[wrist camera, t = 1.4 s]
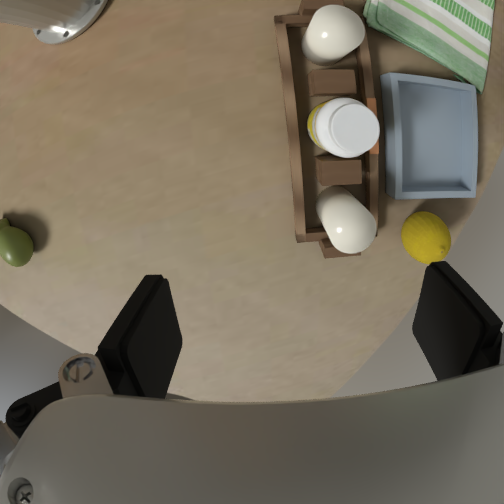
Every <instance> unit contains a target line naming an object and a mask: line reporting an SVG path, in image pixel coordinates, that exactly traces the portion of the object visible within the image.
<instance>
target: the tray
mask: <svg viewBox="0 0 504 504" xmlns="http://www.w3.org/2000/svg"><path fill="white" fill-rule="evenodd" d="M380 81H381V91H382V102H383V116H384V133H385V166H386V190H385V193H387V194H388V195H390V196H391V197H392V198H394V199H395V200H397V199H424V198H472V197H475V195H476V183H477V165H478V117H477V99H476V87H475V85H471V84H466V83H461V82H456V81H451V80H445V79H439V78H433V77H426V76H418V75H410V74H401V73H387V74H383V75H380Z"/></svg>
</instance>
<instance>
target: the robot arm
mask: <svg viewBox="0 0 504 504" xmlns="http://www.w3.org/2000/svg"><path fill="white" fill-rule="evenodd" d="M107 1H108V0H0V22H1V23H7V24H13V25H18V26H24V27H29V28H33V32H34V34H35V36H36V38H38V39H39V40H40V41H42V42H44V43H47V44H61V43H65V42H67V41H70V40H72V39H74V38H75V37H77V36H79V35H80V34H81V33H82V32H84V31H85V30H86V29H87V28H88V27H89V26H90V25H91V24H92V23H93V22H94V21H95V20H96V19H97V17H98V16H99V15H100V13H101V12H102V10H103V9H104V7H105V5H106V3H107ZM502 325H503V322H502V321H501V320H500V319H499V318H498V316H497V315H496V314H495V313H494V312H493V311H492V309H491V308H490V307H489V306H488V305H487V304H486V303H485V302H484V300H483V299H482V298H481V297H480V296H479V295H478V294H477V293H476V292H475V291H474V290H473V289H472V287H471V286H470V285H469V284H468V283H467V282H466V281H465V280H464V279H463V278H462V277H461V276H460V275H459V274H458V273H457V272H456V271H455V270H454V269H453V268H452V267H451V266H450V265H449V264H448V263H447V262H446V261H438V262H431V263H430V265H429V266H427V268H426V270H425V275H424V280H423V284H422V289H421V293H420V298H419V302H418V306H417V310H416V314H415V318H414V322H413V327H412V330H413V334H414V336H415V338H416V340H417V342H418V343H419V345H420V347H421V349H422V351H423V353H424V355H425V356H426V359H427V360H428V362H429V364H430V366H431V368H432V370H433V372H434V374H435V376H436V378H437V380H438V381H435V382H431V383H426V384H421V385H416V386H411V387H405V388H400V389H394V390H388V391H382V392H375V393H369V394H362V395H353V396H345V397H335V398H325V399H313V400H298V401H276V402H212V401H190V400H173V399H165V396H166V393H167V390H168V387H169V384H170V381H171V378H172V375H173V372H174V369H175V366H176V363H177V360H178V357H179V354H180V351H181V348H182V335H181V332H180V328H179V324H178V320H177V316H176V312H175V308H174V303H173V299H172V295H171V291H170V286H169V282H168V280H167V279H166V278H165V279H164V278H163V276H162V275H146V276H145V277H144V278H143V279H142V281H141V282H140V284H139V285H138V287H137V288H136V290H135V291H134V292H133V294H132V295H131V297H130V298H129V300H128V301H127V303H126V304H125V306H124V307H123V309H122V310H121V312H120V313H119V315H118V316H117V318H116V319H115V321H114V323H113V324H112V326H111V327H110V329H109V330H108V332H107V333H106V335H105V337H104V338H103V340H102V341H101V343H100V345H99V346H98V351H97V352H96V354H95V356H94V355H93V354H88V353H84V354H78V355H75V356H73V357H71V358H69V359H68V360H66V361H65V362H64V363H63V364H62V366H61V367H60V369H59V372H58V378H59V382H57V383H54V384H52V385H50V386H48V387H46V388H43V389H41V390H39V391H37V392H34V393H32V394H30V395H27V396H25V397H23V398H20V399H18V400H17V401H15V402H14V403H13V404H12V405H11V406H10V407H9V409H8V410H7V413H6V422H5V423H3V422H2V421H0V504H504V332H503V334H502V333H501V331H500V329H501V327H502Z"/></svg>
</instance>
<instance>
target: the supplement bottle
mask: <svg viewBox="0 0 504 504" xmlns="http://www.w3.org/2000/svg"><path fill="white" fill-rule="evenodd" d="M307 130H308V134H309V136H310V138H311V139H312V141H313V142H314V143H315V144H316V145H317V146H319V147H320V148H322V149H324V150H326V151H328V152H330V153H332V154H334V155H336V156H339V157H344V158H352V157H357V156H359V155H361V154H363V153H365V152H366V151H368V150H370V149H371V148H372V147H373V146H374V145H375V144H376V142H377V140H378V138H379V133H380V127H379V122H378V119H377V117H376V116H375V114H374V113H373V112H372V111H371V110H370V109H369V108H367V107H366V106H365V105H364V104H362V103H361V102H359V101H357V100H355V99H351V98H336V99H333V100H330V101H327V102H324V103H321V104H319V105H317V106H316V107H315V108H314V109H313V110H312V111H311V113H310V114H309V117H308V120H307Z"/></svg>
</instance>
